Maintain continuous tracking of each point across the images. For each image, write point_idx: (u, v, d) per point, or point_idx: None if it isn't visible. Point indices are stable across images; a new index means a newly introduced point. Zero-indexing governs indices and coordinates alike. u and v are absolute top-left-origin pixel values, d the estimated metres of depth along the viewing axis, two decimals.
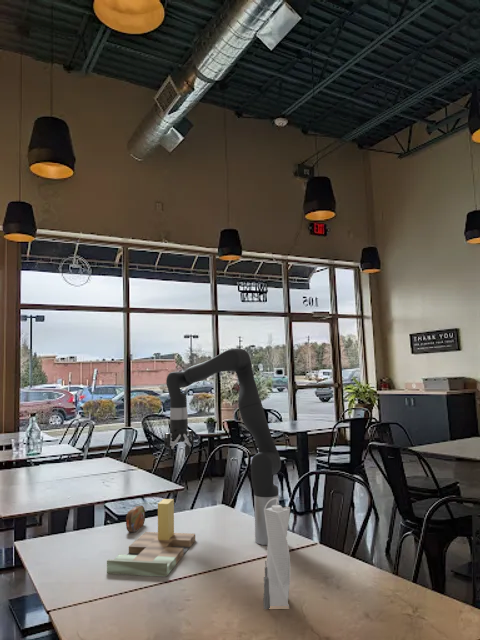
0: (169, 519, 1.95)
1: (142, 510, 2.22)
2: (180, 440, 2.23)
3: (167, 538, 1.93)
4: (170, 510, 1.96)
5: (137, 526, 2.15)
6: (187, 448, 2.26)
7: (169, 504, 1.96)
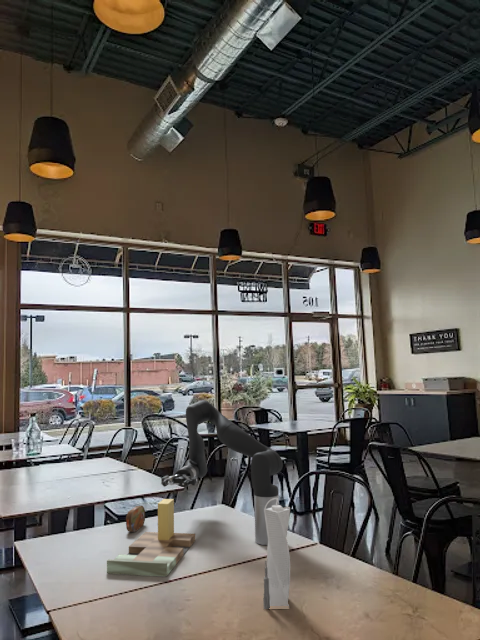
0: (169, 519, 1.95)
1: (142, 510, 2.22)
2: (179, 483, 2.16)
3: (167, 538, 1.93)
4: (170, 510, 1.96)
5: (137, 526, 2.15)
6: (167, 483, 2.13)
7: (169, 504, 1.96)
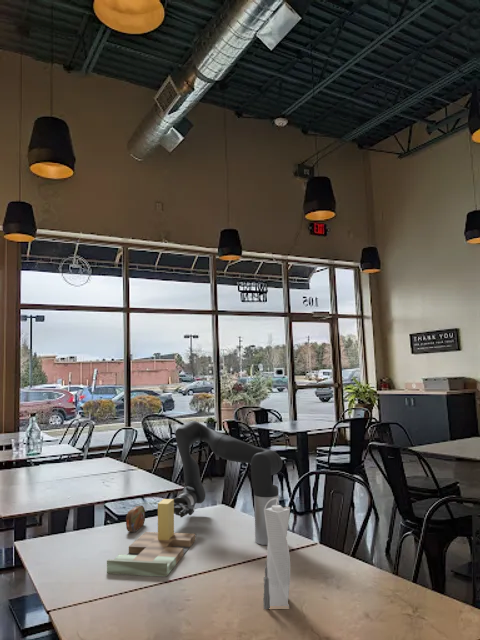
0: (169, 519, 1.95)
1: (142, 510, 2.22)
2: None
3: (167, 538, 1.93)
4: (170, 510, 1.96)
5: (137, 526, 2.15)
6: None
7: (169, 504, 1.96)
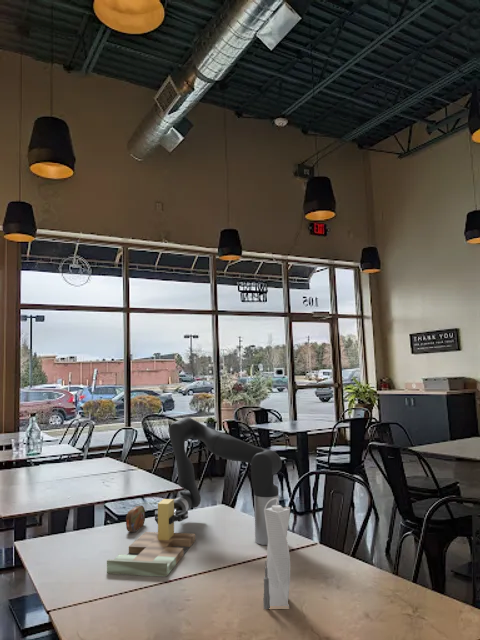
0: None
1: (142, 510, 2.22)
2: None
3: (167, 538, 1.93)
4: (170, 510, 1.96)
5: (137, 526, 2.15)
6: None
7: (169, 504, 1.96)
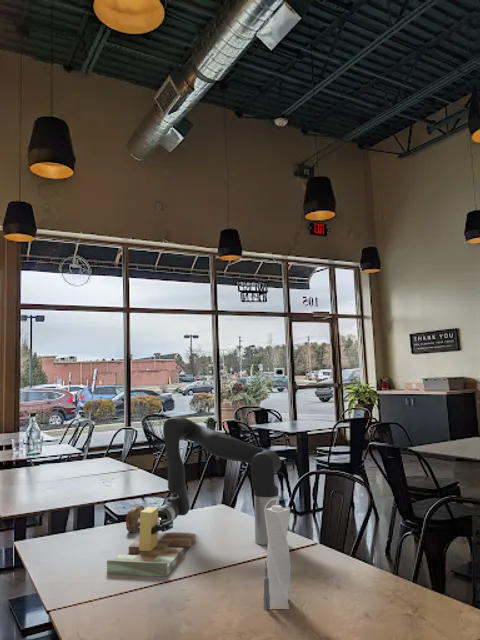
0: None
1: None
2: None
3: (149, 549, 1.80)
4: (153, 519, 1.83)
5: (137, 526, 2.15)
6: None
7: (152, 513, 1.83)
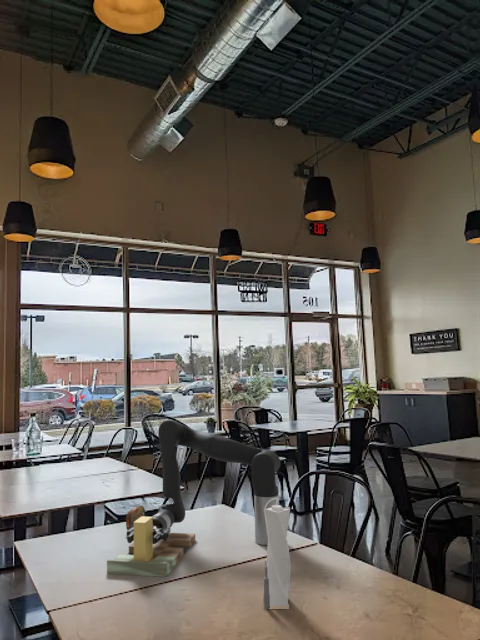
0: (147, 540, 1.71)
1: (142, 510, 2.22)
2: None
3: None
4: (148, 529, 1.73)
5: None
6: (133, 539, 1.75)
7: (147, 523, 1.72)
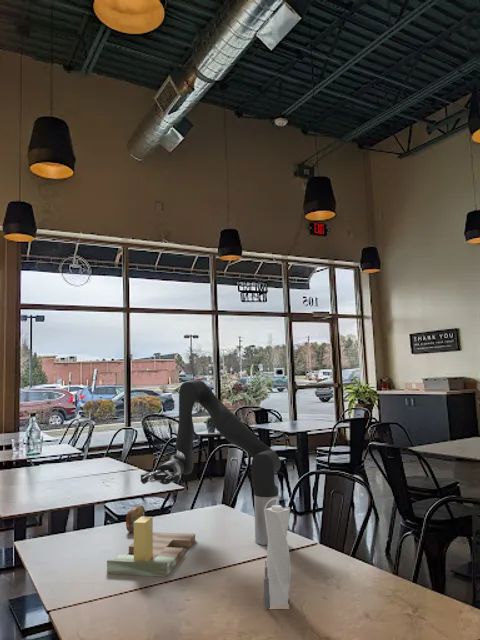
0: (147, 540, 1.71)
1: (142, 510, 2.22)
2: (161, 480, 1.93)
3: None
4: (148, 529, 1.73)
5: None
6: (146, 480, 1.89)
7: (147, 523, 1.72)
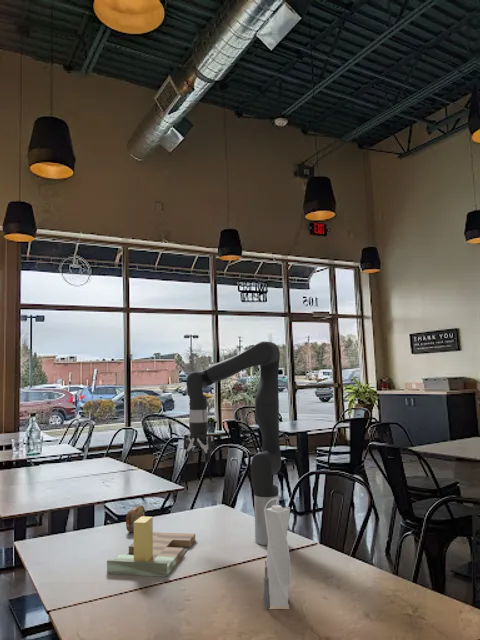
0: (147, 540, 1.71)
1: (142, 510, 2.22)
2: None
3: None
4: (148, 529, 1.73)
5: None
6: (192, 453, 2.13)
7: (147, 523, 1.72)
